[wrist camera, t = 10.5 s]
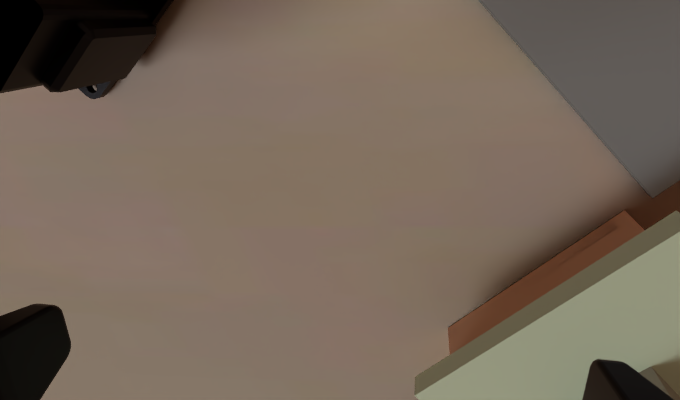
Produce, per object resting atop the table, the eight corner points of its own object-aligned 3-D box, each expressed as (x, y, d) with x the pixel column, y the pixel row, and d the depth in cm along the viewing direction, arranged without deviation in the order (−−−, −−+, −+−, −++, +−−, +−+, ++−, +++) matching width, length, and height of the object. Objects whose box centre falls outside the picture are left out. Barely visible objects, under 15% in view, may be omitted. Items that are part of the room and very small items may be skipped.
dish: (447, 327, 22) (451, 382, 19) (624, 210, 18) (666, 251, 15) (569, 446, 23) (592, 515, 20) (754, 356, 20) (818, 423, 17)
